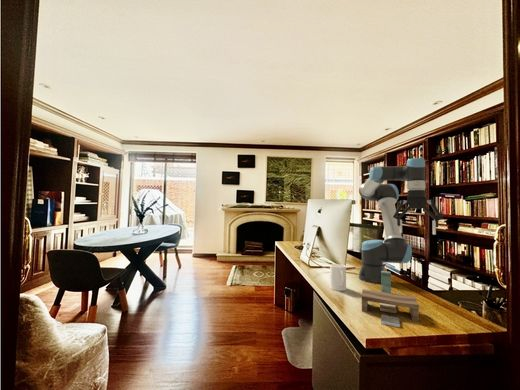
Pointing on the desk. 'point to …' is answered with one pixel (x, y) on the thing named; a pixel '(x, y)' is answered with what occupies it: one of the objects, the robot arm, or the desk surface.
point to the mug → (338, 277)
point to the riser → (391, 301)
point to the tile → (390, 320)
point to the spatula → (386, 288)
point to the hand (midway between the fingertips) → (417, 233)
